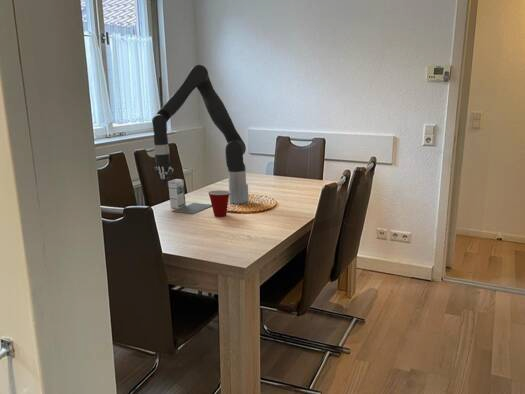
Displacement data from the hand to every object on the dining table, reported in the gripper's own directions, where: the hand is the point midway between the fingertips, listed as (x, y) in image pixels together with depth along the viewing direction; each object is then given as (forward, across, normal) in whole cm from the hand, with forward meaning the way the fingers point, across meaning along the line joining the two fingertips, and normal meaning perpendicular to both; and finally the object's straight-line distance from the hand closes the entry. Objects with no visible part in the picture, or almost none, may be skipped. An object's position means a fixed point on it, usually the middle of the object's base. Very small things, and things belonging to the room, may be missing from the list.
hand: (165, 185), depth 254 cm
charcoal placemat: (+11, -18, 0) cm, 21 cm away
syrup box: (+11, -8, 0) cm, 14 cm away
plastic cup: (+11, -39, +6) cm, 41 cm away
